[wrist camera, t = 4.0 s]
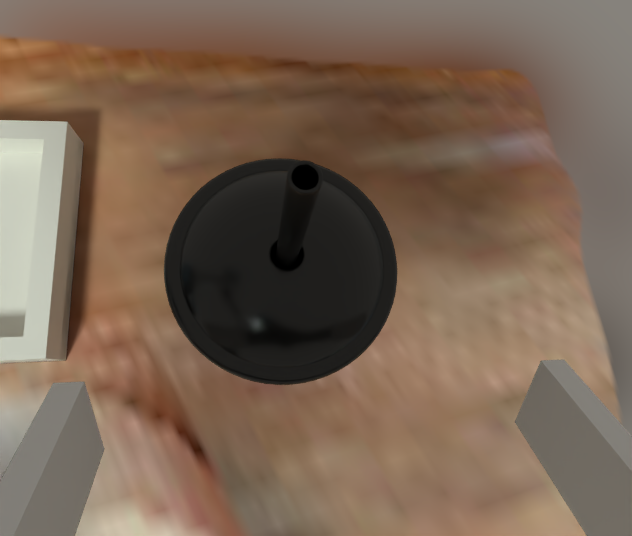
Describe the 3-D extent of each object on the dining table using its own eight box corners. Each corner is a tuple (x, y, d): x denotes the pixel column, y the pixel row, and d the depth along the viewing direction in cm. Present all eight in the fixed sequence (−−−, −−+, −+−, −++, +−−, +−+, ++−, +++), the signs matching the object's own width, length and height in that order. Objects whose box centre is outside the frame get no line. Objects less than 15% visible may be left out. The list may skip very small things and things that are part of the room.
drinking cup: (204, 267, 27) (77, 9, 8) (321, 253, 29) (451, 1, 9) (216, 390, 26) (92, 431, 6) (340, 370, 27) (546, 353, 8)
